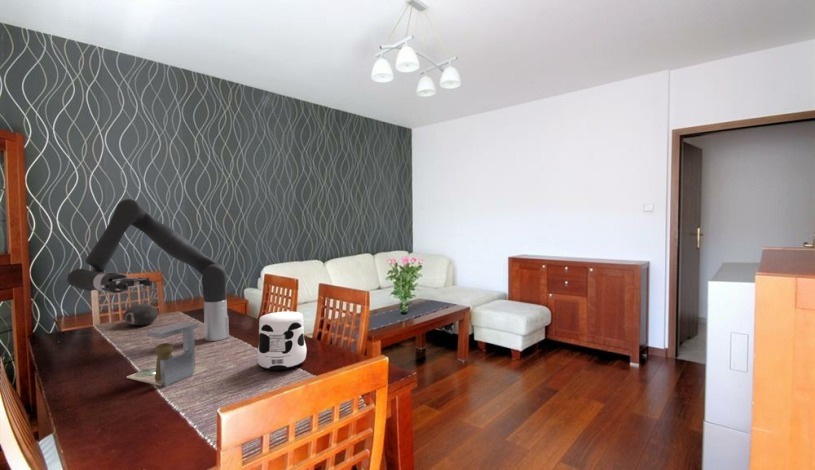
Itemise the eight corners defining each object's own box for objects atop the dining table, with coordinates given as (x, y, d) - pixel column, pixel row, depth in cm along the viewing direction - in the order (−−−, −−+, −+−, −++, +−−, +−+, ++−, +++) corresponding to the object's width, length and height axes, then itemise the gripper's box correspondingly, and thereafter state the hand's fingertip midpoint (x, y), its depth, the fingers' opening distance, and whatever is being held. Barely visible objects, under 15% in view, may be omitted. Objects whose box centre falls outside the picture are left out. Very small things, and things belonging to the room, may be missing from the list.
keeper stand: (126, 377, 135) (124, 329, 134) (168, 362, 149) (167, 318, 149) (165, 387, 128) (163, 336, 127) (206, 369, 142) (205, 324, 141)
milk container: (292, 353, 159) (291, 308, 158) (315, 364, 146) (314, 316, 145) (249, 364, 146) (248, 316, 146) (270, 378, 134) (269, 325, 133)
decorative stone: (122, 322, 206) (121, 303, 206) (155, 318, 215) (154, 299, 215) (125, 331, 191) (125, 310, 191) (160, 325, 200) (160, 305, 200)
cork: (165, 380, 131) (164, 347, 131) (150, 379, 132) (149, 346, 132) (179, 373, 137) (178, 341, 137) (164, 372, 138) (163, 340, 138)
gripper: (89, 275, 144) (118, 277, 137) (129, 270, 157) (157, 272, 151) (90, 295, 144) (119, 299, 138) (130, 288, 157) (158, 291, 151)
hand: (139, 284), depth 144 cm, fingers open, 8 cm apart
